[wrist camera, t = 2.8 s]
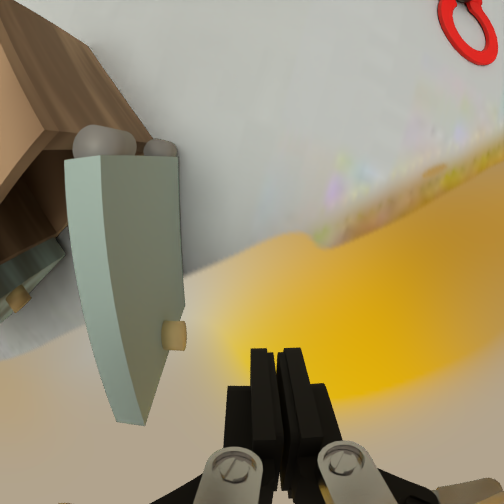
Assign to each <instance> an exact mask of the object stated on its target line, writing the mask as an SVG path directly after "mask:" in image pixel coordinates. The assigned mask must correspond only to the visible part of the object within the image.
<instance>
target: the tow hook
mask: <svg viewBox="0 0 504 504" xmlns="http://www.w3.org/2000/svg"><path fill="white" fill-rule="evenodd" d="M457 1H460V2H463V3H466V4H467V7H468V10H469V11H470V13H472V14H473V15H474V16H475V17H476V18H477V20H478V21H479V23H480V24H481V26H482V28H483V30H484V33H485V37H486V46H485V48H484V50H482V51H477V50H475V49H473V48H471V47H470V46H469V45H467V43H466V42H465V41H464V40H463V39H462V38H461V36H460V35H459V33H458V31H457V30H456V28H455V25H454V22H453V17H452V14H453V10H454V8H455V7H456V6H457V3H456V0H440V2H439V4H438V17H439V21H440V24H441V27H442V29H443V31H444V33H445V35H446V37H447V39H448V40H449V41H450V43H451V44H452V46H453V47H454V48H455V49H456V50H457V51H458V52H459V54H460V55H461V56H463V57H464V58H465V59H467V60H468V61H470V62H472V63H474V64H476V65H487V64H490V63H492V62H493V61H494V60H495V59H496V56H497V54H498V42H497V37H496V34H495V31H494V28H493V26H492V24H491V22H490V20H489V19H488V17H487V16H486V15H485V13H484V12H483V10H482V7H481V5H482V0H457Z"/></svg>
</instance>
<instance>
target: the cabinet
mask: <svg viewBox="0 0 504 504" xmlns="http://www.w3.org/2000/svg"><path fill="white" fill-rule="evenodd" d="M88 125H99V126H104V127H109V128H113V129H118V130H123V131H127V132H129V133H131V134H132V135H133V137H134V138H135V140H136V144H137V149H136V153H135V156H144V153H143V151H144V147H145V145H146V143H147V142H148V141H150V140H152V139H153V138H152V137H151V135H150V134H149V132H148V131H147V130H146V128H145V127H144V125H143V124H142V123H141V121H140V120H139V118H138V117H137V116H136V114H135V113H134V111H133V110H132V108H131V107H130V106H129V104H128V103H127V101H126V100H125V99H124V97H123V96H122V94H121V93H120V91H119V90H118V89H117V87H116V86H115V84H114V83H113V82H112V80H111V79H110V77H109V76H108V74H107V73H106V72H105V70H104V69H103V67H102V66H101V64H100V63H99V62H98V60H97V59H96V57H95V56H94V54H93V53H92V51H91V50H90V49H89V47H88V46H87V45H86V44H84V43H83V42H81V41H80V40H78V39H76V38H75V37H73V36H72V35H70V34H69V33H67V32H66V31H64V30H62V29H61V28H59V27H58V26H56V25H54V24H53V23H51V22H50V21H48V20H46V19H45V18H43V17H41V16H40V15H38V14H36V13H35V12H33V11H31V10H30V9H28V8H26V7H25V6H23V5H21V4H19V3H18V2H16V1H14V0H0V323H1V322H3V321H4V320H5V319H6V318H7V317H9V316H10V315H11V314H12V313H13V312H14V313H16V312H18V311H19V310H20V309H21V308H22V307H23V306H24V305H26V304H27V303H28V301H29V300H30V299H31V296H30V295H29V293H30V292H31V291H32V290H33V289H34V288H35V286H36V285H37V284H38V283H39V282H40V281H41V280H42V279H43V278H44V277H45V276H46V275H47V273H48V272H49V271H50V270H51V269H52V268H53V267H54V266H55V265H56V264H57V263H58V262H59V261H60V260H61V259H62V258H63V257H64V256H65V255H66V254H65V252H64V251H63V249H62V248H61V247H60V245H59V244H58V242H57V241H56V239H55V238H56V237H57V236H58V235H59V233H60V232H61V231H62V230H63V229H64V228H65V227H66V226H67V225H68V216H67V204H66V190H65V169H64V160H68V159H75V158H74V156H73V142H74V139H75V137H76V135H77V134H78V132H79V131H80V130H81V129H83V128H84V127H86V126H88Z"/></svg>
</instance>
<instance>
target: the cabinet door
mask: <svg viewBox="0 0 504 504" xmlns="http://www.w3.org/2000/svg"><path fill="white" fill-rule="evenodd" d="M136 149H137V144H136V140H135V138H134V137H133V135H132V134H131V133H129V132H127V131H123V130H118V129H113V128H109V127H104V126H99V125H88V126H86V127H84V128H83V129H81V130H80V131H79V132H78V134H77V135H76V137H75V139H74V142H73V156H74V158H75V159H68V160H64V169H65V190H66V204H67V216H68V226H69V234H70V242H71V250H72V256H73V263H74V269H75V275H76V280H77V286H78V291H79V296H80V301H81V306H82V310H83V315H84V319H85V323H86V327H87V331H88V335H89V339H90V342H91V346H92V350H93V353H94V357H95V360H96V363H97V367H98V370H99V373H100V377H101V380H102V383H103V386H104V388H105V392H106V394H107V397H108V400H109V403H110V406H111V408H112V411H113V414H114V416H115V419H116V422H120V423H127V424H134V425H141V426H145V425H146V421H147V418H148V415H149V411H150V408H151V405H152V402H153V399H154V396H155V393H156V389H157V386H158V383H159V380H160V377H161V374H162V371H163V368H164V365H165V362H166V359H167V356H168V353H169V350H180V351H184V350H185V348H186V340H187V334H186V333H187V332H186V324H185V322H184V321H180V318H181V315H182V312H183V310H184V307H185V298H184V286H183V271H182V255H181V237H180V214H179V177H178V157H176V155H177V148H176V146H175V145H174V144H173V143H172V142H169V141H165V140H161V139H152V140H150V141H148V142H147V143H146V145H145V147H144V151H143V153H144V156H135V153H136Z"/></svg>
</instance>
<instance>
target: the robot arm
mask: <svg viewBox="0 0 504 504" xmlns="http://www.w3.org/2000/svg"><path fill="white" fill-rule="evenodd" d="M250 371H251V372H250V373H251V374H250V378H251V379H250V386H228V390H227V402H226V417H225V431H224V446H223V448H222V449H220V450H218V451H216V452H214V453H213V454H212V455H211V456H210V457H209V459H208V460H207V462H206V465H205V469H204V471H203V474H201V475H200V476H198V477H196V478H195V479H193V480H191V481H190V482H188V483H186V484H185V485H183V486H181V487H179V488H178V489H176V490H174V491H172V492H171V493H169V494H167V495H165V496H163V497H162V498H160V499H158V500H156V501H154V502H152V503H150V504H272V498H273V491H277V485H278V479H279V473H280V481H281V489H282V491H288V498H293V502H294V503H295V504H504V491H503V489H502V487H501V485H500V483H499V482H498V481H496V480H495V479H492V478H483V479H479V480H474V481H470V482H465V483H460V484H454V485H449V486H442V487H438V488H437V489H436V490H432V491H431V490H429V489H427V488H425V487H422V486H420V485H417V484H415V483H412V482H409V481H407V480H404V479H402V478H399V477H397V476H395V475H392V474H390V473H388V472H385V471H383V470H381V469H378V468H377V467H376V465H375V464H374V462H373V460H372V458H371V457H370V455H369V453H368V452H367V451H366V449H365V448H364V447H362V446H361V445H359V444H357V443H354V442H351V441H343V440H342V437H341V433H340V430H339V427H338V424H337V421H336V417H335V414H334V411H333V408H332V405H331V401H330V398H329V395H328V392H327V389H326V386H325V384H324V383H319V384H310V381H309V377H308V373H307V370H306V366H305V362H304V359H303V355H302V351H301V348H284V351H283V352H278V355H277V370H275V363H274V355H273V352H272V353H267V349H266V348H263V349H262V348H259V349H251V367H250ZM59 504H70V503H59Z"/></svg>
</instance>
